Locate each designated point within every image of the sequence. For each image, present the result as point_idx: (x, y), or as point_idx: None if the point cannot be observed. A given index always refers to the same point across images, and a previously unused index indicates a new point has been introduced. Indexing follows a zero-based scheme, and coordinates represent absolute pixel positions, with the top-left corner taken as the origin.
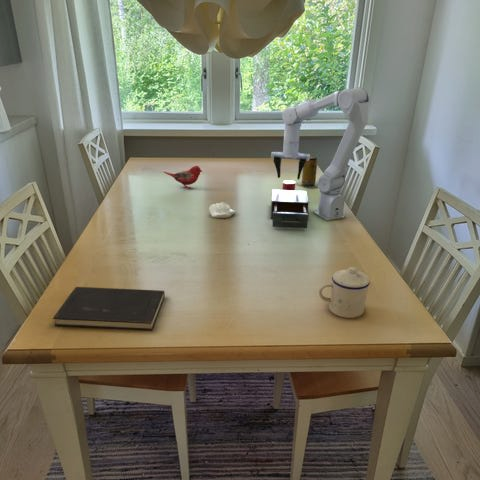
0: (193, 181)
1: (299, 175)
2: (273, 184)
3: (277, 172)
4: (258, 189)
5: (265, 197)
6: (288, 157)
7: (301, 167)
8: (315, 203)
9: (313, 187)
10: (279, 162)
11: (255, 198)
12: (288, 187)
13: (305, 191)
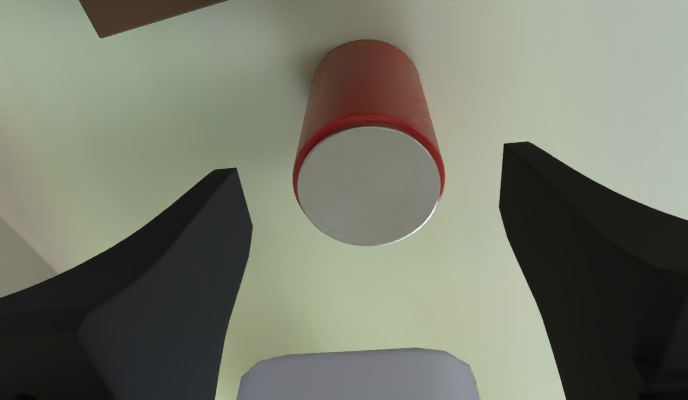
0: None
1: (188, 193)
2: (530, 384)
3: (570, 170)
4: None
5: (574, 136)
6: (372, 361)
7: (95, 268)
8: (142, 141)
9: None
10: (634, 276)
11: (670, 78)
12: (355, 102)
13: (94, 2)
